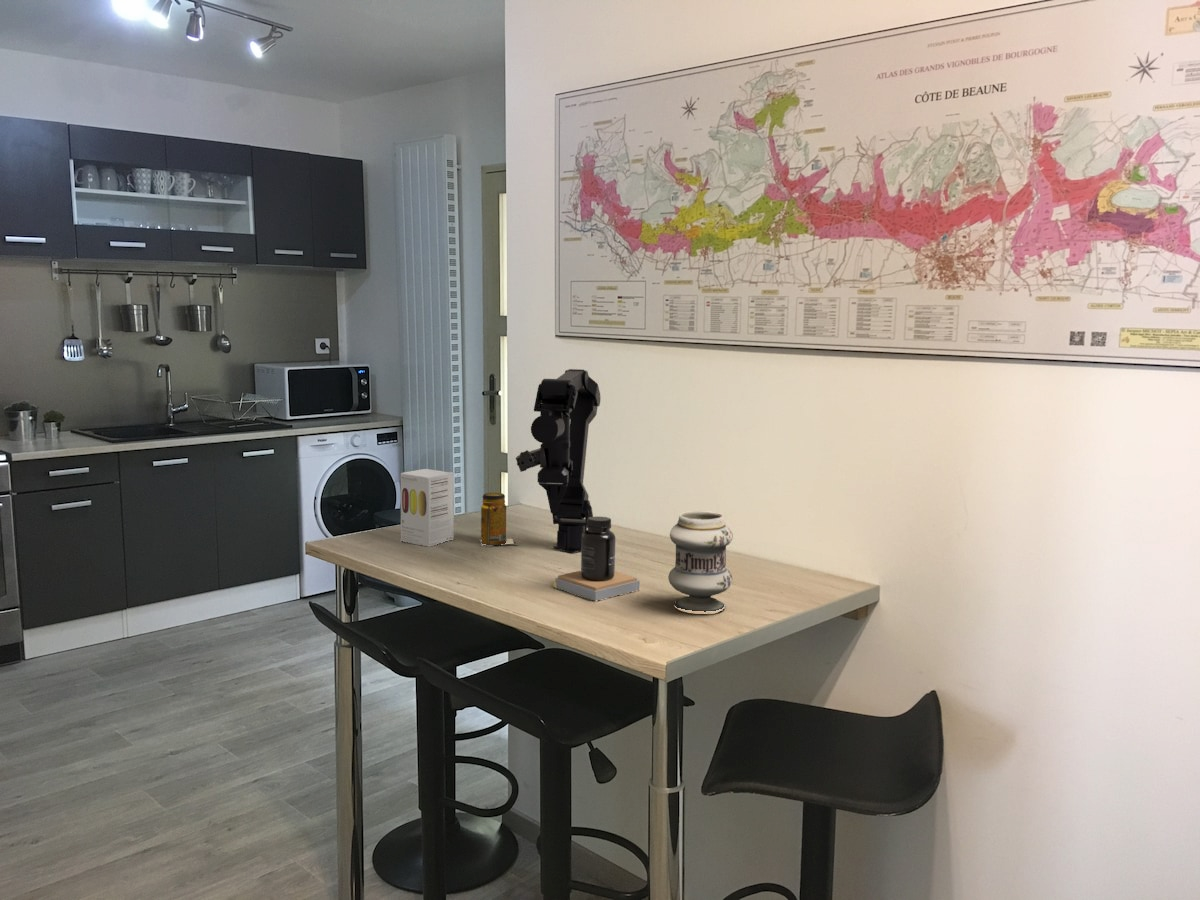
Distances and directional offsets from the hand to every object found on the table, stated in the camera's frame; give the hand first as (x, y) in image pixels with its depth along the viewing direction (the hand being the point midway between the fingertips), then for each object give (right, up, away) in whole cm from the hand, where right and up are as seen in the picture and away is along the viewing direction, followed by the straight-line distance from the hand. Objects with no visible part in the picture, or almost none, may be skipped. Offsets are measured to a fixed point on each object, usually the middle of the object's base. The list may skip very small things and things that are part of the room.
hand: (555, 509), depth 202 cm
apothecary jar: (+29, -17, -24) cm, 41 cm away
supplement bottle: (+9, -13, -15) cm, 22 cm away
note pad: (+9, -15, -14) cm, 23 cm away
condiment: (-15, -10, +23) cm, 30 cm away
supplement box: (-32, -9, +24) cm, 41 cm away
